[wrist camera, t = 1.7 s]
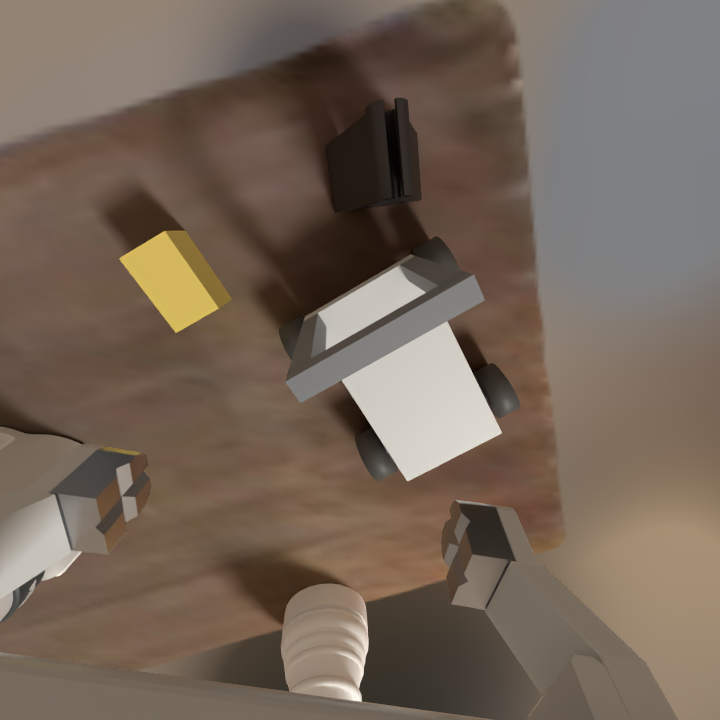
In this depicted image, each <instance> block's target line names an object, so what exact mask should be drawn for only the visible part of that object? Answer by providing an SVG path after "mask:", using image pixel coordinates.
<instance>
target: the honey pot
mask: <svg viewBox="0 0 720 720" xmlns="http://www.w3.org/2000/svg"><path fill="white" fill-rule="evenodd" d="M282 635H283V636H282V643H281V652H282V658H283V660H284V668H285V677H286V682H287V684H288V686H289V692H294V693H301V694H309V695H316V696H323V697H331V698H338V699H345V700H352V701H360V702H361V693H360V691H359V686H360V682H361V679H362V677H363V672H364V668H363V667H364V665H365V656H366V654H367V651H368V630H367V616H366V606H365V603H364V601H363V599H362V597H361V596H360V595H359V594H358V593H357V592H355V591H354V590H352V589H351V588H349V587H346V586H343V585H339V584H330V583H329V584H318V585H314V586H310V587H307V588H305V589H303V590H301V591H299V592H298V593H297V594H296V595H294V596H293V597H292V598H291V600H290V601H289V602H288V604H287V606H286V610H285V616H284V624H283V632H282Z"/></svg>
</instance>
